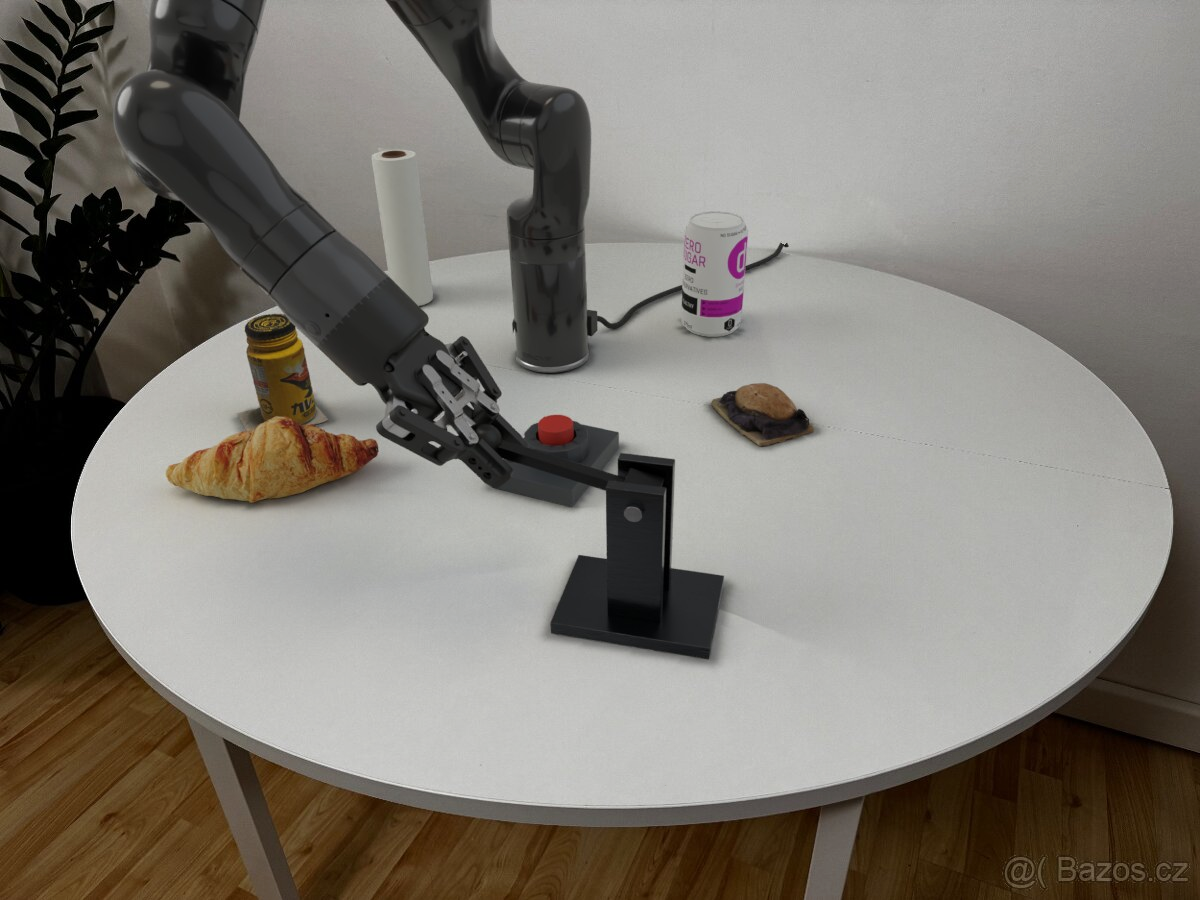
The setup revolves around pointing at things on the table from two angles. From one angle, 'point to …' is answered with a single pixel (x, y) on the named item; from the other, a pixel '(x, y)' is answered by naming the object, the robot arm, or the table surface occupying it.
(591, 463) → the control block
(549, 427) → the button
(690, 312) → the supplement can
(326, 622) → the table surface
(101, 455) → the table surface
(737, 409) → the brown rounded layered piece
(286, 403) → the condiment
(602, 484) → the lever
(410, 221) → the paper towel roll
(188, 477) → the croissant
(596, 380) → the table surface
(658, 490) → the bracket
